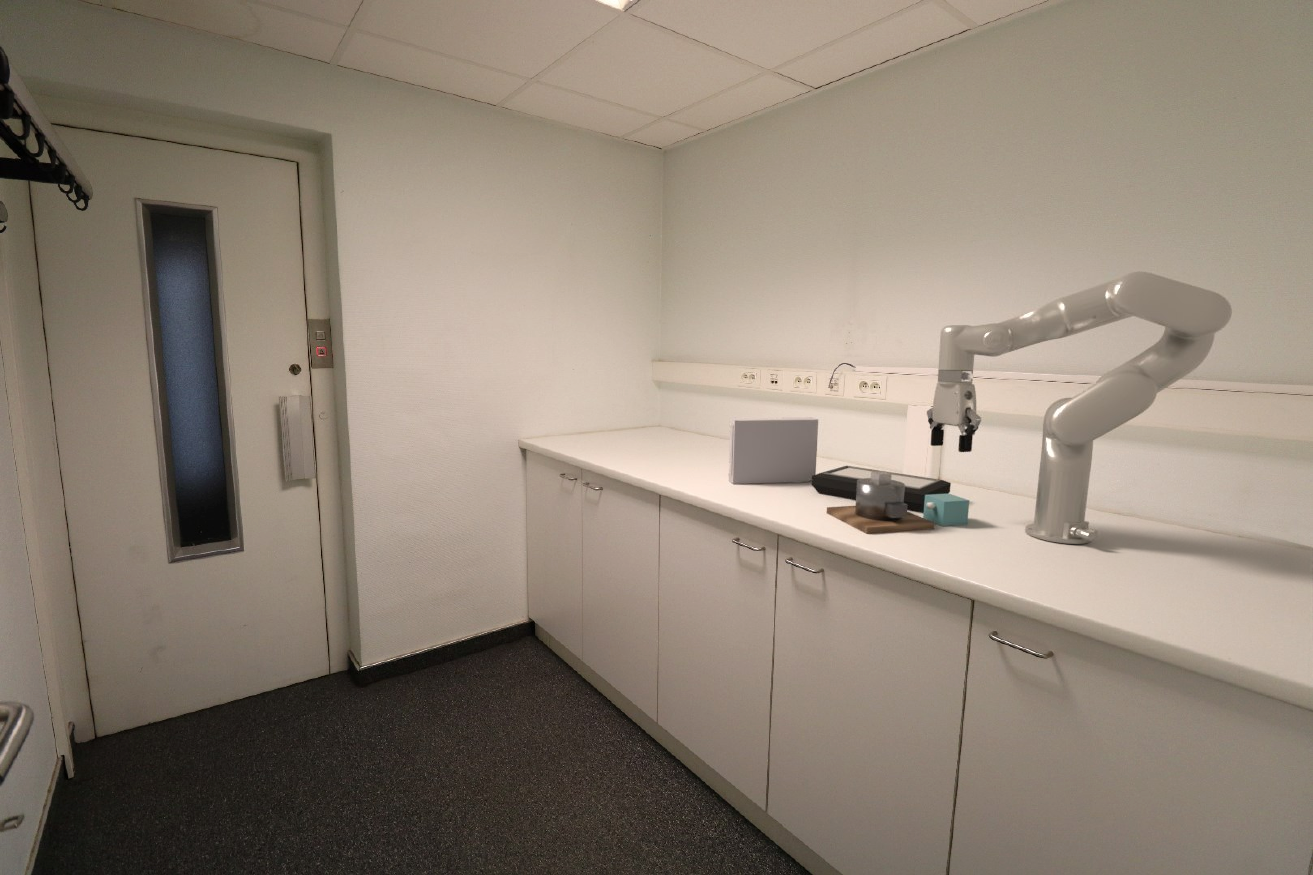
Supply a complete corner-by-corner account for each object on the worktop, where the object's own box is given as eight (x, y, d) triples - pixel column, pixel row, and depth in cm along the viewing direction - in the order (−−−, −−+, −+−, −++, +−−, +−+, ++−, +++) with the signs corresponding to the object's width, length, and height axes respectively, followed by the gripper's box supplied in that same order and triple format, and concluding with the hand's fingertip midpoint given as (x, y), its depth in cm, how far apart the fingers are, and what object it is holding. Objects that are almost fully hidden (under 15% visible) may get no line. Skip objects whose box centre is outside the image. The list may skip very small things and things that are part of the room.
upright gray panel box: (727, 480, 196) (728, 418, 193) (807, 478, 200) (810, 417, 198) (732, 484, 190) (734, 420, 187) (815, 481, 195) (818, 419, 192)
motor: (919, 522, 145) (922, 478, 144) (878, 525, 143) (880, 480, 141) (884, 507, 158) (887, 467, 157) (846, 510, 156) (848, 469, 154)
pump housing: (967, 524, 149) (969, 500, 149) (936, 526, 147) (938, 502, 146) (947, 516, 156) (948, 493, 155) (917, 518, 154) (919, 495, 153)
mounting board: (934, 528, 145) (934, 522, 145) (866, 533, 141) (867, 527, 141) (888, 509, 163) (888, 503, 162) (826, 512, 158) (826, 507, 158)
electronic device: (812, 472, 179) (844, 464, 193) (811, 493, 180) (843, 483, 194) (924, 491, 157) (951, 480, 171) (922, 515, 158) (949, 501, 172)
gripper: (996, 379, 140) (990, 453, 142) (943, 376, 156) (939, 442, 159) (968, 379, 138) (962, 455, 140) (917, 376, 154) (913, 444, 157)
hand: (950, 448), depth 149 cm, fingers open, 9 cm apart
